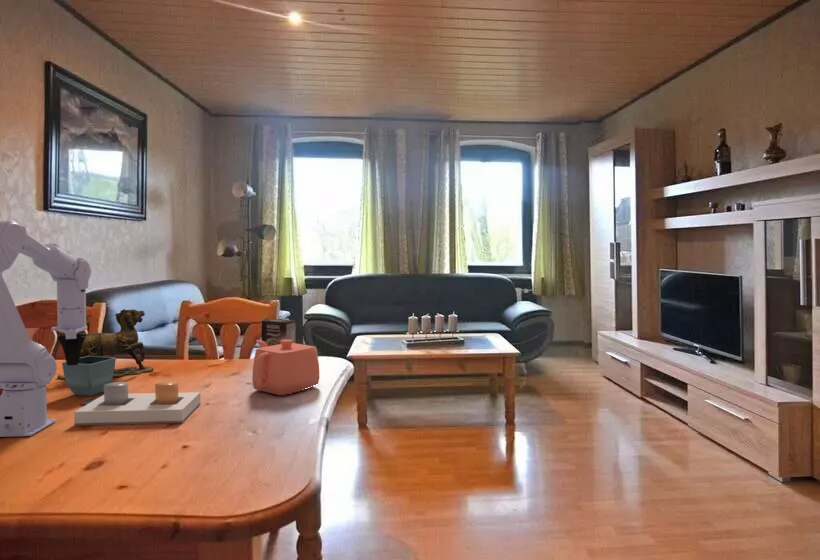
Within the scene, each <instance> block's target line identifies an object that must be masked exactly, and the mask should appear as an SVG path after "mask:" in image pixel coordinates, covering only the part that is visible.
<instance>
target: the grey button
mask: <svg viewBox="0 0 820 560" xmlns="http://www.w3.org/2000/svg"><path fill="white" fill-rule="evenodd" d="M128 394H129V382H125V381H116V382H111V383H108V384H105V385H104V392H103V395H104V404H106V405H117V404H123V403H126V402H128Z"/></svg>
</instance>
